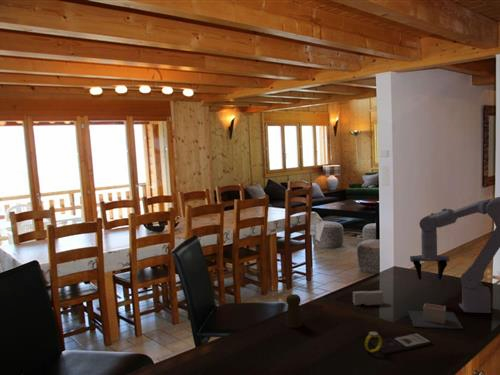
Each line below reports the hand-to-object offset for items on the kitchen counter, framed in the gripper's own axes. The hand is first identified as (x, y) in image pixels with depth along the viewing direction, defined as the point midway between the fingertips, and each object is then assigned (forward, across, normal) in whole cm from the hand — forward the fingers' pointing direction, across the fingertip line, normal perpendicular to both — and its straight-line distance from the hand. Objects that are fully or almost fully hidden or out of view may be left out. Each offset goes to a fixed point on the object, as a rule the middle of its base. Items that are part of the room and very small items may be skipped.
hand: (429, 278), depth 174 cm
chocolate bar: (+10, -19, -38) cm, 44 cm away
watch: (+10, -28, -43) cm, 52 cm away
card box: (+9, -3, -20) cm, 22 cm away
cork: (+10, -54, -24) cm, 59 cm away
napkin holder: (+10, -25, -2) cm, 27 cm away
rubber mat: (+9, -3, -19) cm, 21 cm away
